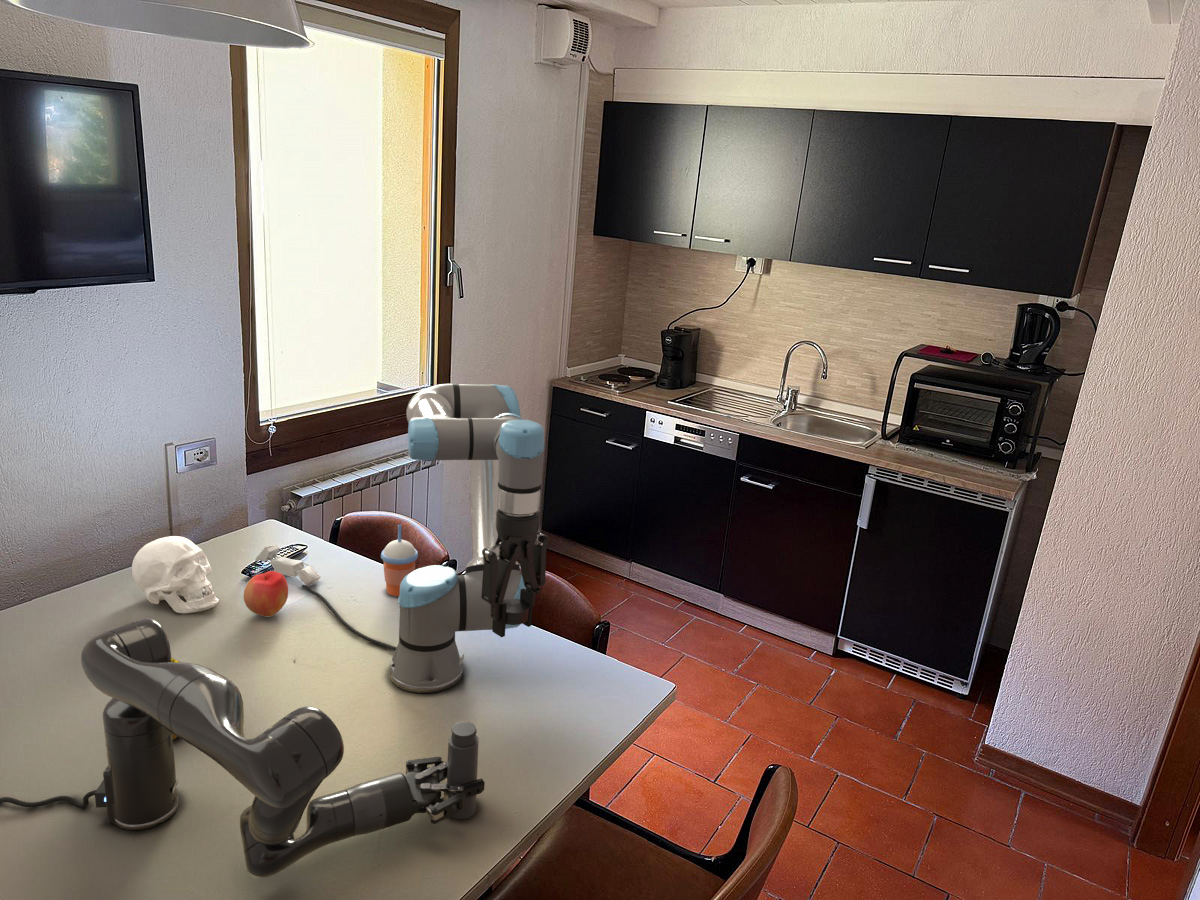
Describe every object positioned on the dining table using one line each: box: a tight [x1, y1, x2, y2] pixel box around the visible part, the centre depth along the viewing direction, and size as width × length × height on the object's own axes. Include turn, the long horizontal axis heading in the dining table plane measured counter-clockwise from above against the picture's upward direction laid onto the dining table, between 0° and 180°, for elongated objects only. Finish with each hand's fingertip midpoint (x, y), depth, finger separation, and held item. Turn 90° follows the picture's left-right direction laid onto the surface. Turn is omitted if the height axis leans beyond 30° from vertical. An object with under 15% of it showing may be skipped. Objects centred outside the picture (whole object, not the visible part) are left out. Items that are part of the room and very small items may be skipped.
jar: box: [446, 720, 480, 820], centre depth 142 cm, size 5×5×16 cm
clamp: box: [254, 544, 322, 587], centre depth 219 cm, size 20×4×7 cm, turn 62°
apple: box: [243, 570, 289, 618], centre depth 199 cm, size 10×10×10 cm
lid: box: [503, 599, 529, 626], centre depth 154 cm, size 6×6×2 cm
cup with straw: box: [380, 524, 419, 597], centre depth 214 cm, size 9×9×18 cm
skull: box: [131, 535, 220, 615], centre depth 201 cm, size 13×22×16 cm, turn 73°
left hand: (476, 774), depth 144 cm, fingers closed on jar, 5 cm apart
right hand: (512, 628), depth 155 cm, fingers closed on lid, 5 cm apart
